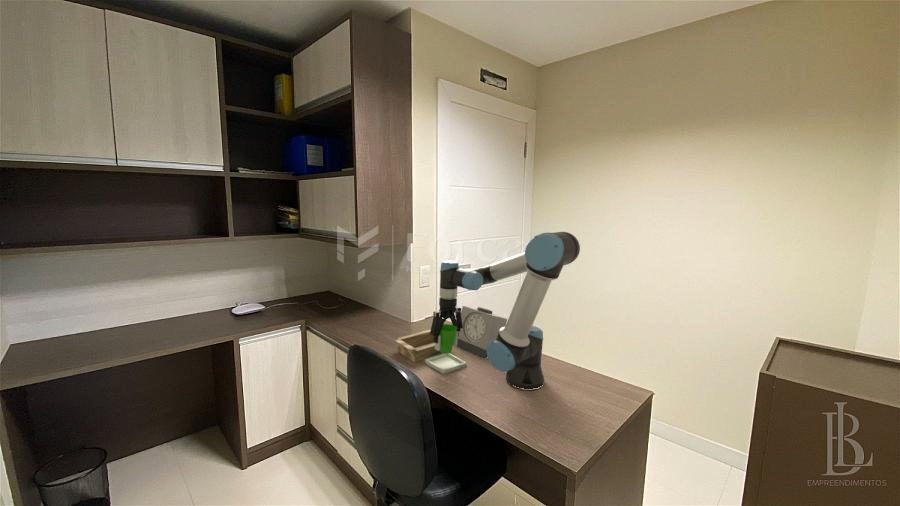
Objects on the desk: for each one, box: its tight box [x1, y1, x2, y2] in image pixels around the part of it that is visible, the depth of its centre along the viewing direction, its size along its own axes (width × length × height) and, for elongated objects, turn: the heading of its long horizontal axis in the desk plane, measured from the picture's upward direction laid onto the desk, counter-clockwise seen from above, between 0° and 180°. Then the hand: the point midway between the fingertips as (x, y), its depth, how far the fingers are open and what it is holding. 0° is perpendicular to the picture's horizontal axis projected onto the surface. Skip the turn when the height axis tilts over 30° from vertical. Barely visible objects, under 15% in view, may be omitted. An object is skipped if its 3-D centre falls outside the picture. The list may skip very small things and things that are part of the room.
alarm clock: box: [453, 305, 508, 360], centre depth 178 cm, size 20×16×20 cm
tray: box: [424, 353, 468, 376], centre depth 160 cm, size 13×13×2 cm
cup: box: [439, 323, 457, 354], centre depth 158 cm, size 9×9×11 cm
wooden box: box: [394, 329, 442, 363], centre depth 173 cm, size 17×25×6 cm
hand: (446, 347), depth 159 cm, fingers closed on cup, 9 cm apart
